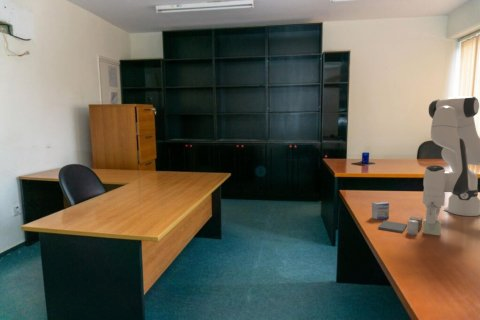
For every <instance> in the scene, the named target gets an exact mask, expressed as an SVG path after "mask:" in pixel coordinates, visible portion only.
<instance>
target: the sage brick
mask: <svg viewBox="0 0 480 320" xmlns="http://www.w3.org/2000/svg"><path fill="white" fill-rule="evenodd" d="M422 234H425V235H431V236H432V235H433V236H438V237H440V236H441V234H442V220H436V222H435V225H434V230H433V231H430V230H429V224H426V218H423V220H422Z"/></svg>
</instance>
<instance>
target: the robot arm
mask: <svg viewBox="0 0 480 320" xmlns="http://www.w3.org/2000/svg"><path fill="white" fill-rule="evenodd" d="M479 110H480V102H479V100H478V98H476V96H473V95H471V96H470V95H466V96H453V97H446V98H441V99H436V100H433V101H431V103H430V104H429V106H428V114H429V117H430V118H431V119H432V120H431V127H430V138H431V141H432V142H433V143H434V144H435V145H437V146H439V147H441V149H442V150H441V158H442V160H443V161H445V162H446V163H447V164H448V165H449V167H450V168H451V170H452V171H445V167H444V166H442V165H429V166H426V167H425V169H424V170H425V171H424V174H423V177H422V178H423V181H422V182H423V183H422V185H423V191H422V204H423V205H425V206H424V207H425V208H426V213H425V219H426V224H429V230H430V231H433V230H434V225H435V222H436V220H437V219H438V218H439V215H440V211H441V208H442V207H444V206H445V199H446V197H445V196H446V193H445V192H448V193H451V195H450V196H449V197H448V204H447V206H446V207H445V208H444V210H443V211H445V212H449V213H450V214H454V215H459V216H464V217H465V216H466V217H476V216H480V198H479V197H478V195H479V190H478V184H479V183H478V182H479V181H478V180H479V176H478V175H477V173H476V172H474V171H472V169H470V168H469V166H468V165H471V166H472V165H473V166H480V136H479V134H478V132H477V131H478V130H477V127H476V122H475V116H476V115H477V114H479Z"/></svg>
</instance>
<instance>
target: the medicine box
mask: <svg viewBox="0 0 480 320" xmlns="http://www.w3.org/2000/svg"><path fill="white" fill-rule="evenodd" d="M371 218H372V219H374V220H377V221H379V220H384V219H385V220H386V219H389V218H390V202H387V201H377V202H371Z"/></svg>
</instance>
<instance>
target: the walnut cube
mask: <svg viewBox="0 0 480 320" xmlns="http://www.w3.org/2000/svg"><path fill="white" fill-rule="evenodd" d="M423 219H424V218H423V217H421V216H416V215H410V217H409V220H416V221H418V231H419V230H422V229H423Z"/></svg>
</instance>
